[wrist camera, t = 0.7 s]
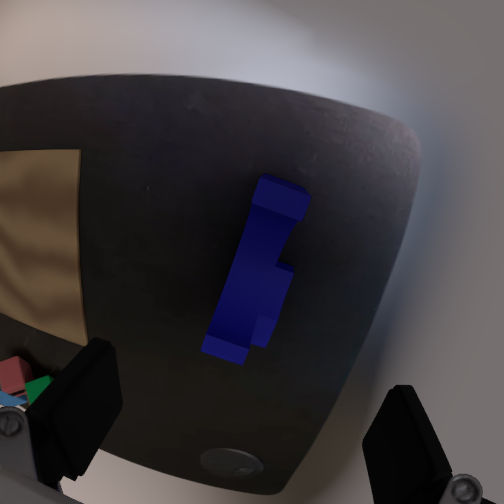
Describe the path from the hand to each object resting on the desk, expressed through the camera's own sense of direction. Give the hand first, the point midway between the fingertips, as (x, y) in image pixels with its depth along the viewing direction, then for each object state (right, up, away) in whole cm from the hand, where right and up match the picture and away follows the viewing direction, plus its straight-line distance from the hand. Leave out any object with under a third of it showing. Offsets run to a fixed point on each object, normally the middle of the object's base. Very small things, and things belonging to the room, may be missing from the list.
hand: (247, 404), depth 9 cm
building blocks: (-29, -13, +23) cm, 40 cm away
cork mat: (-26, +6, +17) cm, 31 cm away
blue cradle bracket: (+1, +5, +15) cm, 16 cm away
